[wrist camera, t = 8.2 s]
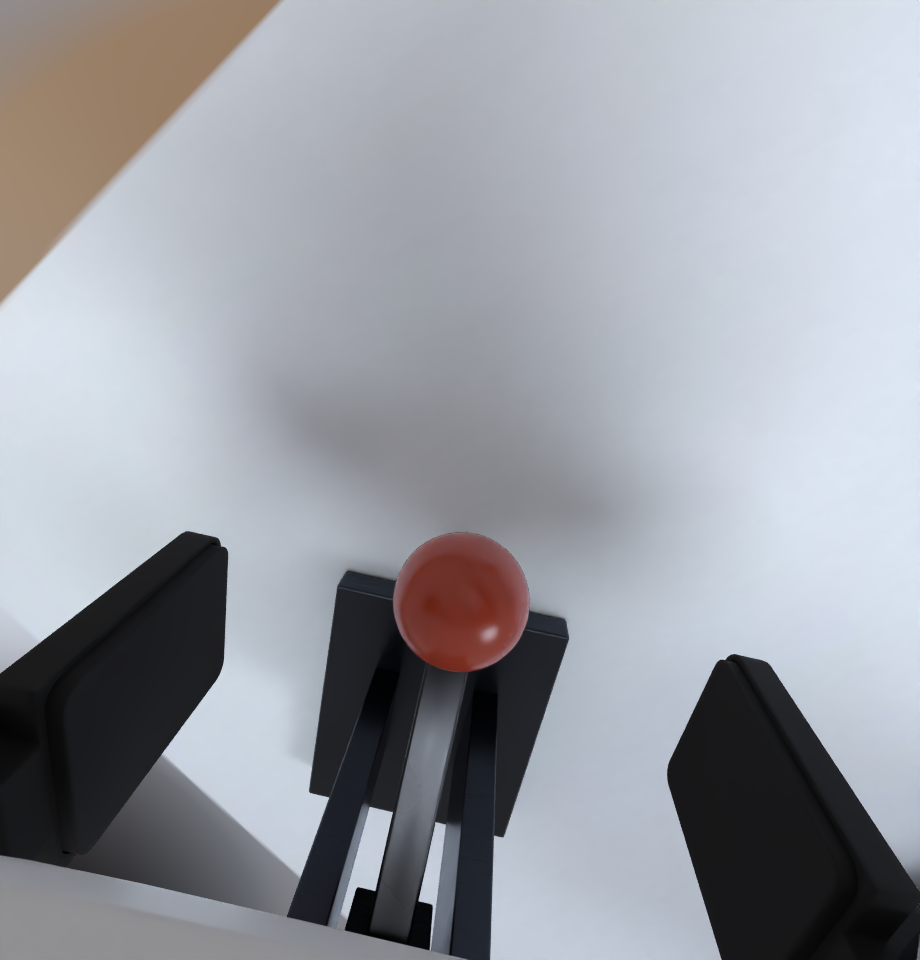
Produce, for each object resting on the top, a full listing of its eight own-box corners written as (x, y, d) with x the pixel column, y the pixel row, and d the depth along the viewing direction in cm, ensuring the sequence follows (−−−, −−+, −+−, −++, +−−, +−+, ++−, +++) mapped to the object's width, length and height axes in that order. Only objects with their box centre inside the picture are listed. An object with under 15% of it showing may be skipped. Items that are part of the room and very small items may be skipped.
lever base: (346, 569, 21) (166, 873, 10) (566, 619, 21) (629, 983, 10) (317, 770, 25) (163, 1152, 14) (504, 814, 25) (498, 1234, 14)
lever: (416, 517, 16) (402, 520, 12) (533, 543, 16) (553, 554, 12) (315, 962, 15) (271, 1101, 12) (437, 991, 15) (428, 1140, 12)
